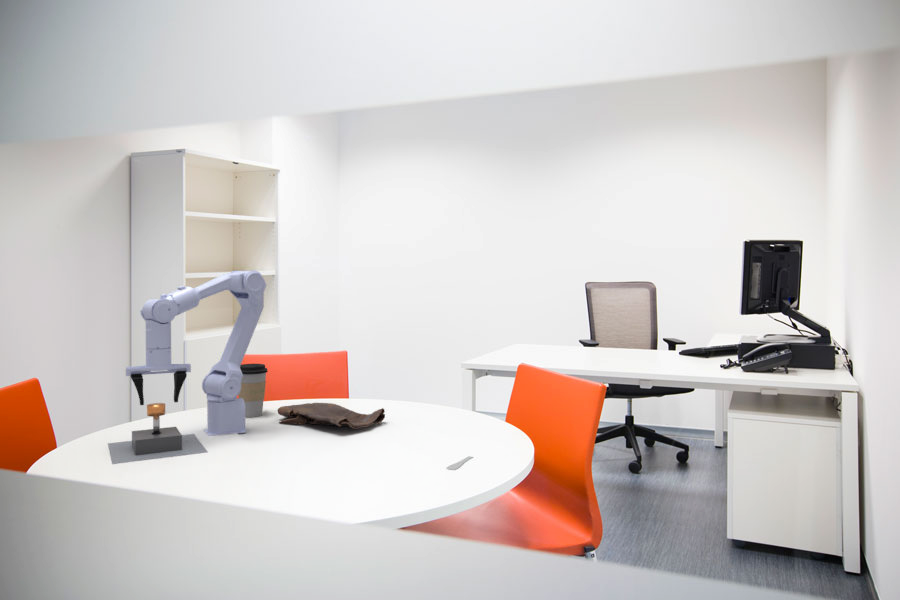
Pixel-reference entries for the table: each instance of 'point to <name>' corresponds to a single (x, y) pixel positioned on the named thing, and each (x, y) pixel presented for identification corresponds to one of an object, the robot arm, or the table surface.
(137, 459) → the board
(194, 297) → the robot arm
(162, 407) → the plunger
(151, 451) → the block
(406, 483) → the table surface
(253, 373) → the coffee cup
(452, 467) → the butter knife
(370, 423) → the folded brown cloth
